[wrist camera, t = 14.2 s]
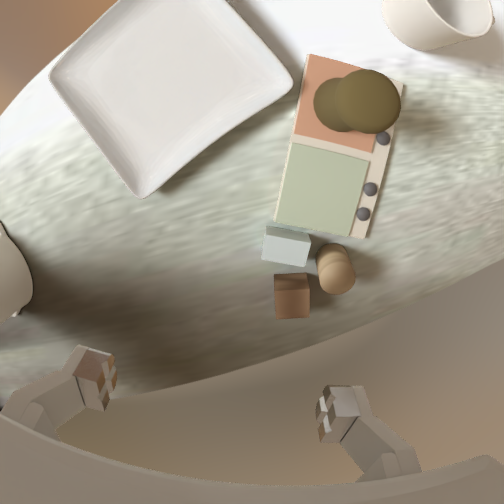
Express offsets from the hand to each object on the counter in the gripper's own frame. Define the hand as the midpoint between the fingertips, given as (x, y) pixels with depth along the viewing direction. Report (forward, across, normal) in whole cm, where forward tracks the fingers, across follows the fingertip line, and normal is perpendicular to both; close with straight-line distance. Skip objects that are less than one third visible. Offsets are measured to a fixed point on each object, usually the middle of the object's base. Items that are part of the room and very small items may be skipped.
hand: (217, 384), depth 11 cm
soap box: (+27, -6, +4) cm, 28 cm away
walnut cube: (+27, -8, +10) cm, 30 cm away
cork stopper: (+26, -12, +5) cm, 29 cm away
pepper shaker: (+25, -8, -12) cm, 29 cm away
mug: (+26, -17, -26) cm, 41 cm away
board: (+26, -9, -8) cm, 29 cm away
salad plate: (+28, +11, -13) cm, 33 cm away
